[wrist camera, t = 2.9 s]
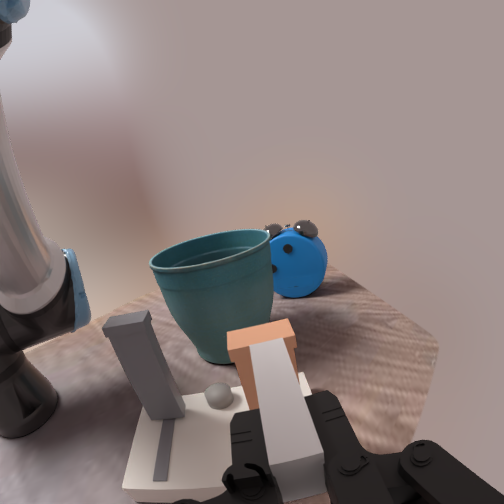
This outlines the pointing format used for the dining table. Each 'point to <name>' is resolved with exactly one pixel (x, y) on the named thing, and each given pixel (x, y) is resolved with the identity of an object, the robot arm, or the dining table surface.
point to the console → (187, 448)
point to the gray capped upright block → (145, 364)
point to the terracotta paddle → (242, 356)
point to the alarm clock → (296, 258)
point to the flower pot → (217, 286)
